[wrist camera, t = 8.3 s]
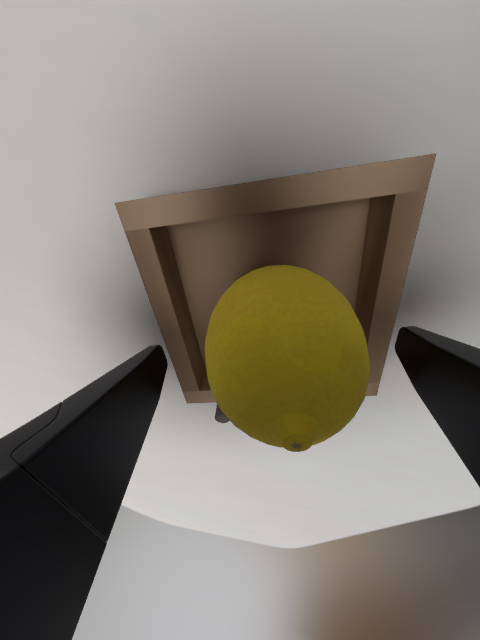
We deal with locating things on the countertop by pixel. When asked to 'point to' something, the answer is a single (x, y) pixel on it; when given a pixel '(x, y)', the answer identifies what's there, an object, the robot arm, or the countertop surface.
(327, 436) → the lemon
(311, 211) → the tray
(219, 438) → the countertop surface
